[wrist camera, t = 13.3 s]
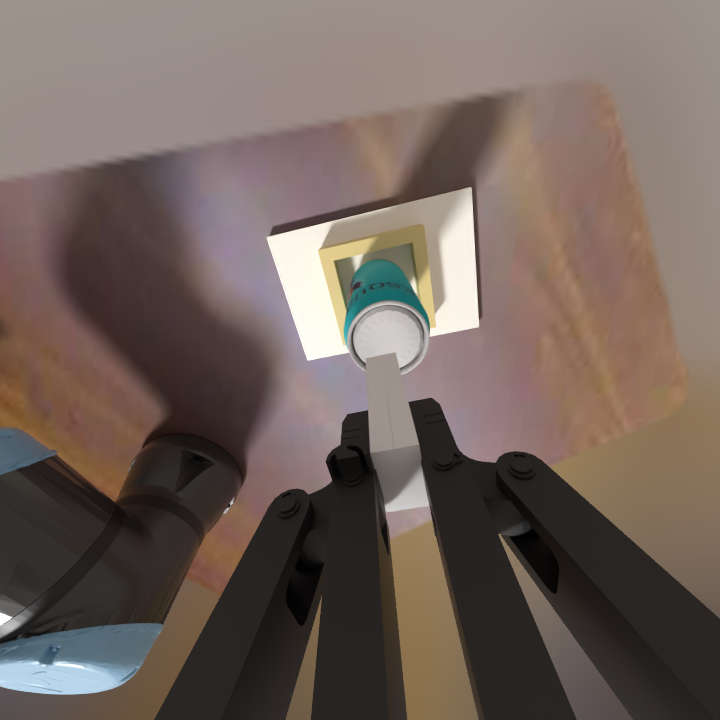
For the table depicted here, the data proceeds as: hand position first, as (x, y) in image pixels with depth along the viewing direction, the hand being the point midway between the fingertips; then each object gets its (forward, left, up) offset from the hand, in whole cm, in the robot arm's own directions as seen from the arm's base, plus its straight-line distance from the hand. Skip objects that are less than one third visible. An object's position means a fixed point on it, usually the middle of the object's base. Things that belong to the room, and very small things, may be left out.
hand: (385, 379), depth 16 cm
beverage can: (0, 0, -19) cm, 19 cm away
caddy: (+1, 0, -20) cm, 20 cm away
